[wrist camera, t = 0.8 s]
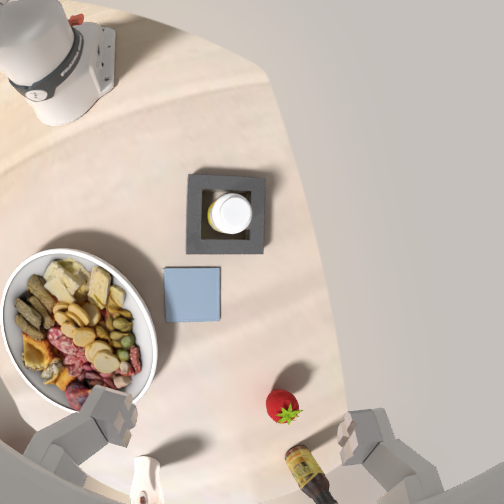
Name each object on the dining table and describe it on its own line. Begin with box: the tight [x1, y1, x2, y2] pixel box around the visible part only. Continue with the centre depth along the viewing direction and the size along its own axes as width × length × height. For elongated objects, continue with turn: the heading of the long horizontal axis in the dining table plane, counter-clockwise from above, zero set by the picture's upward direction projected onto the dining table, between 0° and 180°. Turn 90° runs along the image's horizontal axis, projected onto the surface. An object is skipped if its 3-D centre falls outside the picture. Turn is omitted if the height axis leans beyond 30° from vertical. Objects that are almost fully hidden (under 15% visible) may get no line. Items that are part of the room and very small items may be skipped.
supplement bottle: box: [207, 193, 252, 234], centre depth 41 cm, size 6×6×10 cm
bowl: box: [0, 248, 158, 413], centre depth 37 cm, size 30×30×8 cm
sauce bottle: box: [285, 446, 338, 504], centre depth 45 cm, size 6×6×20 cm
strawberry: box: [266, 389, 303, 425], centre depth 46 cm, size 6×8×10 cm
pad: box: [164, 268, 220, 322], centre depth 45 cm, size 9×9×1 cm
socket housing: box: [186, 174, 265, 254], centre depth 44 cm, size 12×12×3 cm
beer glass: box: [130, 456, 164, 504], centre depth 38 cm, size 7×7×15 cm
